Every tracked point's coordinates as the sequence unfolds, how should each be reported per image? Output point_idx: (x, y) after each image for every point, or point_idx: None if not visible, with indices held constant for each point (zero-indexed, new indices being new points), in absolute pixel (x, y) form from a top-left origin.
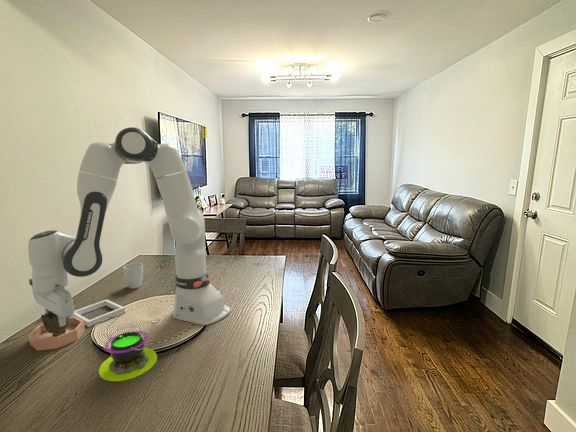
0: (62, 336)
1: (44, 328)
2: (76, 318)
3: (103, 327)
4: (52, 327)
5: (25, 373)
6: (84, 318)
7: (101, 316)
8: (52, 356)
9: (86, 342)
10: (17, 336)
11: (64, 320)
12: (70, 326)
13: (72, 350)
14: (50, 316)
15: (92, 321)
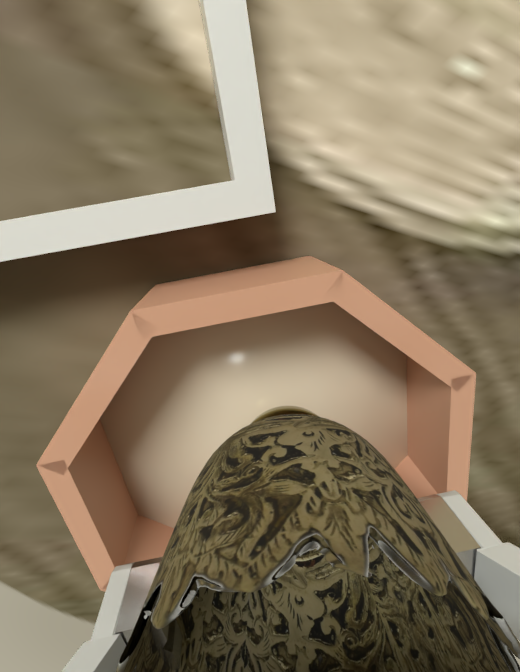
0: (464, 468)
1: (124, 525)
2: (189, 319)
3: (385, 96)
4: (388, 573)
5: None
6: (140, 214)
7: (240, 10)
8: (475, 474)
9: (505, 299)
10: (44, 597)
11: (496, 546)
12: (169, 346)
13: (516, 388)
14: (176, 631)
15: (265, 159)
